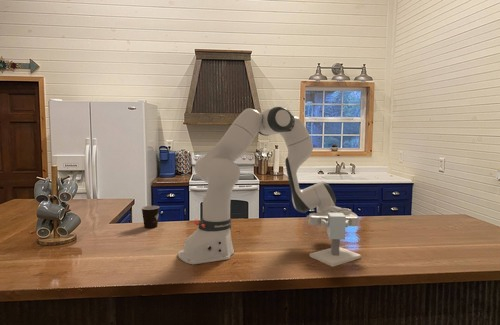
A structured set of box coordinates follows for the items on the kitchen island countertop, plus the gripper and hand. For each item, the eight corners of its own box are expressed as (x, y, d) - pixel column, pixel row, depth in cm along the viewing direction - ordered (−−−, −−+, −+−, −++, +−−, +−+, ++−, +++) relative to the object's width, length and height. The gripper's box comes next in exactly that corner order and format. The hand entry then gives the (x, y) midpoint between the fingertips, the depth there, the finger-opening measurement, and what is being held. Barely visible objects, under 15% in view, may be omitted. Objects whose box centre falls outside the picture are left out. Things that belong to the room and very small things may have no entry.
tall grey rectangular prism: (329, 239, 131) (330, 216, 130) (327, 234, 137) (327, 212, 136) (344, 239, 131) (345, 216, 130) (341, 234, 137) (342, 212, 136)
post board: (332, 266, 125) (333, 245, 125) (309, 256, 135) (310, 236, 134) (360, 257, 134) (361, 237, 133) (337, 248, 144) (338, 229, 143)
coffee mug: (149, 230, 168) (148, 210, 167) (138, 227, 173) (138, 207, 172) (167, 225, 177) (167, 206, 176) (157, 222, 182) (156, 203, 181)
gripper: (306, 208, 147) (310, 216, 133) (354, 209, 145) (363, 217, 132) (305, 222, 147) (309, 232, 133) (353, 223, 146) (362, 233, 132)
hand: (336, 225), depth 133 cm, fingers closed on tall grey rectangular prism, 6 cm apart
